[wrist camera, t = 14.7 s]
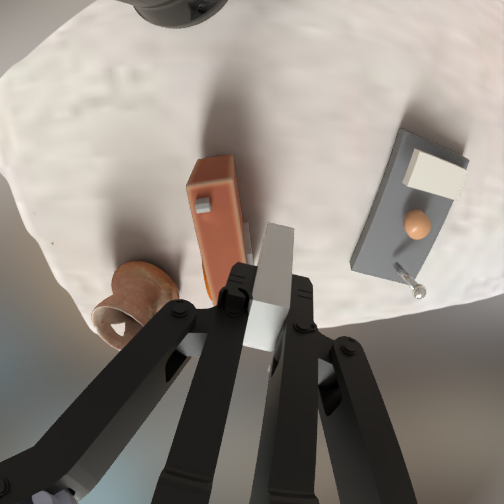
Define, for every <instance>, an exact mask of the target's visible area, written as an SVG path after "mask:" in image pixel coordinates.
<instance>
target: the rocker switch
mask: <svg viewBox="0 0 504 504" xmlns="http://www.w3.org/2000/svg"><path fill="white" fill-rule="evenodd" d="M468 173H469V171H468V170H466V169H465V168H462V167H460V166H458V165H456V164H453V163H451V162H448V161H446V160H444V159H441V158H439V157H436V156H434V155H431V154H428V153H426V152H423V151H421V150H418V149H414V152H413V154H412V157H411V160H410V163H409V166H408V169H407V171H406V174H405V177H404V180H403V182H402V183H403V184H405V185H406V186H407V187H411V188H415V189H418V190H422V191H426V192H429V193H433V194H436V195H439V196H443V197H446V198H449V199H453V200H456V201H457V200H458V198H459V196H460V193H461V191H462V188H463V186H464V183H465V181H466V178H467V176H468Z"/></svg>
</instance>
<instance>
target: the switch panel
mask: <svg viewBox="0 0 504 504" xmlns="http://www.w3.org/2000/svg"><path fill="white" fill-rule="evenodd" d="M414 149H418V150H421V151H423V152H426V153H428V154H431V155H434V156H436V157H439V158H441V159H444V160H446V161H448V162H451V163H453V164H456V165H458V166H460V167H462V168H465V169H466V168H467V166H468V163H469V160H468V159H467V158H465V157H464V156H462V155H460V154H458V153H456V152H454V151H452V150H449V149H447V148H445V147H443V146H441V145H439V144H437V143H434V142H432V141H430V140H427V139H425V138H423V137H421V136H418V135H416V134H413V133H411V132H408V131H406V130H403V129H401V128H399V131H398V134H397V137H396V141H395V144H394V147H393V150H392V153H391V156H390V159H389V162H388V165H387V168H386V170H385V173H384V176H383V179H382V182H381V184H380V187H379V190H378V193H377V195H376V198H375V201H374V203H373V206H372V209H371V211H370V214H369V216H368V219H367V221H366V224H365V226H364V229H363V231H362V234H361V236H360V239H359V241H358V244H357V246H356V248H355V251H354V253H353V255H352V258H351V260H350V266H351V271H355V272H359V273H363V274H367V275H371V276H375V277H379V278H383V279H387V280H391V281H395V282H399V283H403V284H407V283H406V282H405V280H404V279H403V278H402V277H401V276H400V275H399V274H398V273H397V271H396V270H395V269H394V268H393V263H394V262H398V263H399V264H400V265H401V266H402V267H403V268H404V269H405V270H406V271H407V272H408V273H409V275H410V276H411V277H412V278H413V279H414V280H415V278H416V276H417V275H418V273H419V271H420V269H421V267H422V265H423V263H424V262H425V260H426V258H427V256H428V254H429V252H430V250H431V248H432V246H433V244H434V242H435V240H436V238H437V236H438V234H439V232H440V230H441V228H442V225H443V223H444V221H445V219H446V217H447V215H448V212H449V210H450V208H451V205H452V203H453V201H454V200H453V199H449V198H446V197H443V196H439V195H436V194H433V193H429V192H426V191H422V190H418V189H415V188H411V187H407V186H406V185H405V184H403V183H402V182H403V180H404V177H405V174H406V171H407V169H408V166H409V163H410V160H411V157H412V154H413V152H414ZM413 209H419V210H422V211H423V212H424V213H425V214H426V216H427V217H428V218H429V220H430V222H431V229H430V232H429V233H428V235H427V236H425V237H424V238H422V239H418V240H416V239H412V238H411V237H410V236H409V235H408V234H407V232H406V230H405V228H404V226H403V219H404V217H405V215H406V214H407V213H408V212H409V211H411V210H413ZM407 285H408V284H407Z"/></svg>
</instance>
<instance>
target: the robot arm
mask: <svg viewBox="0 0 504 504" xmlns="http://www.w3.org/2000/svg"><path fill="white" fill-rule="evenodd" d="M117 1H120V2H124V3H127V4H130V5H133V6H134V8H135V10H136V11H137V13H138V14H139V15H140V16H141V17H142V18H143V19H145V20H146V21H148V22H150V23H152V24H155V25H158V26H161V27H165V28H186V27H190V26H194V25H197V24H199V23H201V22H204V21H205V20H207V19H209V18H210V17H212V16H213V15H215V14H216V13H217V12H218V11H219V10H220V9H221V8H222V7H223V6H224V5H225V4H226V2H227V1H228V0H117ZM293 244H294V228H290V227H286V226H282V225H278V224H274V223H270V222H268V224H267V228H266V232H265V236H264V240H263V244H262V248H261V252H260V256H259V260H258V264H257V266H254V265H249V264H245V263H241V262H237V263H236V264H235V265H233V266H232V268H231V271H230V273H229V276H228V280H227V282H226V285H225V286H224V287H222V288H221V290H220V291H219V295H218V301H217V305H216V306H214V307H212V308H209V309H196V308H195V306H194V305H193V304H192V303H190V302H189V301H186V300H183V299H174V300H171V301H169V302H167V303H166V304H165V305H164V306H163V307H162V308H161V309H160V310H159V311H158V312H157V313H156V314H155V315H154V316H153V317H152V318H151V319H150V320H149V321H148V323H147V324H146V325H145V326H144V327H143V328H142V329H141V330H140V331H139V332H138V333H137V334H136V335H135V336H134V337H133V338H132V339H131V340H130V341H129V342H128V344H127V345H126V346H125V347H124V348H123V349H122V350H121V351H120V352H119V353H118V354H117V355H116V357H114V359H113V360H112V361H111V362H110V363H109V364H108V365H107V366H106V367H105V368H104V369H103V370H102V371H101V372H100V374H99V375H98V376H97V377H96V378H95V379H94V380H93V381H92V382H91V383H90V384H89V385H88V387H87V388H86V389H85V390H84V391H83V392H82V393H81V394H80V395H79V397H77V399H76V400H75V401H74V402H73V403H72V404H71V405H70V406H69V407H68V409H67V410H66V411H65V412H64V413H63V414H62V415H61V417H59V419H58V420H57V421H56V422H55V423H54V424H53V425H52V427H50V429H49V430H48V431H47V432H46V433H45V434H44V436H43V437H42V438H41V439H40V440H39V441H38V442H37V443H36V444H35V446H34V447H32V448H29V449H27V450H25V451H23V452H21V453H19V454H17V455H15V456H13V457H11V458H9V459H6V460H4V461H2V462H0V504H78V501H79V500H81V499H82V498H83V497H85V496H86V495H87V494H88V493H89V492H90V491H91V490H92V489H93V488H94V487H95V486H96V485H97V483H98V482H99V481H100V480H101V478H102V477H103V476H104V474H105V473H106V472H107V470H108V469H109V468H110V466H111V465H112V464H113V462H114V461H115V460H116V458H117V457H118V455H119V454H120V453H121V452H122V450H123V449H124V448H125V446H126V445H127V444H128V442H129V441H130V440H131V438H132V437H133V436H134V434H135V433H136V432H137V430H138V429H139V428H140V426H141V425H142V424H143V422H144V421H145V420H146V418H147V417H148V415H149V414H150V413H151V412H152V410H153V409H154V408H155V406H156V405H157V403H158V402H159V401H160V399H161V398H162V397H163V395H164V394H165V393H166V391H167V390H168V388H169V387H170V386H171V385H172V383H173V382H174V380H175V379H176V378H177V376H178V375H179V374H180V372H181V371H182V370H183V368H184V367H185V365H186V364H187V363H188V361H189V360H190V358H191V357H192V356H200V358H199V361H198V365H197V368H196V371H195V374H194V377H193V380H192V383H191V386H190V389H189V392H188V395H187V398H186V402H185V405H184V408H183V411H182V414H181V417H180V420H179V424H178V427H177V430H176V433H175V436H174V439H173V443H172V446H171V449H170V452H169V455H168V459H167V462H166V465H165V467H164V469H163V470H162V472H161V474H160V476H159V479H158V482H157V485H156V489H155V492H154V495H153V498H152V502H151V504H208V503H209V499H210V494H211V489H212V483H213V477H214V473H215V468H216V464H217V459H218V455H219V450H220V446H221V442H222V437H223V432H224V428H225V424H226V419H227V414H228V410H229V405H230V401H231V396H232V391H233V387H234V383H235V378H236V373H237V368H238V364H239V359H240V355H241V350H242V345H244V346H248V347H252V348H257V349H261V350H266V351H270V352H273V350H274V348H275V351H274V356H273V358H272V361H271V363H270V366H269V368H268V370H267V372H270V374H269V381H268V389H267V396H266V403H265V410H264V417H263V424H262V431H261V436H260V443H259V449H258V456H257V463H256V468H255V474H254V480H253V486H252V492H251V498H250V503H249V504H319V500H318V498H317V497H316V496H315V494H314V480H315V465H316V444H317V419H318V410H319V414H320V418H321V421H322V426H323V430H324V434H325V438H326V443H327V447H328V451H329V455H330V460H331V464H332V468H333V473H334V477H335V481H336V486H337V490H338V495H339V499H340V504H417V500H416V497H415V494H414V490H413V487H412V484H411V480H410V477H409V474H408V471H407V468H406V464H405V462H404V458H403V455H402V452H401V449H400V446H399V444H398V441H397V438H396V435H395V432H394V429H393V426H392V424H391V421H390V418H389V415H388V412H387V410H386V407H385V405H384V401H383V399H382V396H381V394H380V391H379V388H378V386H377V383H376V380H375V378H374V375H373V373H372V370H371V368H370V365H369V363H368V360H367V358H366V355H365V353H364V350H363V348H362V346H361V345H360V343H358V342H357V341H356V340H355V339H353V338H351V337H346V336H343V337H339V338H337V339H336V340H332V339H330V338H328V337H326V336H324V335H323V334H321V333H320V332H319V331H318V329H317V325H316V324H315V323H314V320H313V285H312V283H311V281H310V280H309V278H307V277H302V276H298V275H294V274H292V264H293Z"/></svg>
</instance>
